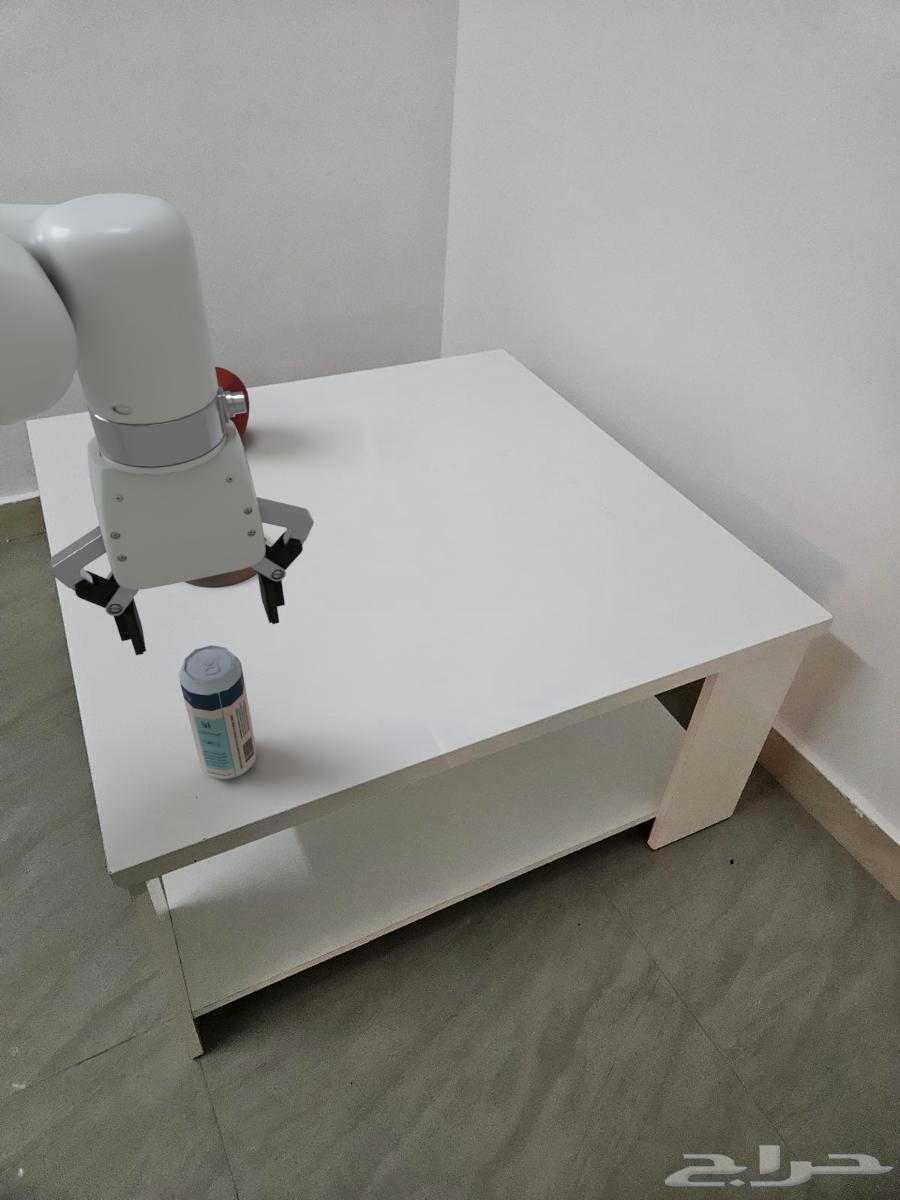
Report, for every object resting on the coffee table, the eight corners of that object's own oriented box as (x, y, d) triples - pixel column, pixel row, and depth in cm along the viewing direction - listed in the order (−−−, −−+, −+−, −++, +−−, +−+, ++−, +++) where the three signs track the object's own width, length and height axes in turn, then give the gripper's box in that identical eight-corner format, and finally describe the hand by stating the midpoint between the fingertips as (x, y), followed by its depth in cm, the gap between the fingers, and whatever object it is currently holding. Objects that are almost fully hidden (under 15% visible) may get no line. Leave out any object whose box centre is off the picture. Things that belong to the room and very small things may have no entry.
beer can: (249, 731, 73) (232, 635, 66) (263, 771, 70) (247, 674, 62) (195, 748, 72) (171, 651, 64) (207, 790, 69) (183, 692, 61)
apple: (179, 462, 107) (165, 392, 100) (185, 426, 114) (173, 358, 107) (253, 459, 108) (244, 389, 101) (255, 423, 115) (246, 356, 108)
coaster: (176, 596, 87) (175, 591, 86) (163, 537, 94) (162, 532, 94) (278, 575, 90) (278, 571, 90) (258, 520, 98) (258, 516, 97)
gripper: (286, 375, 55) (308, 572, 66) (5, 414, 50) (80, 620, 61) (314, 429, 49) (332, 633, 61) (3, 479, 44) (86, 691, 56)
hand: (206, 626), depth 61 cm, fingers open, 9 cm apart
